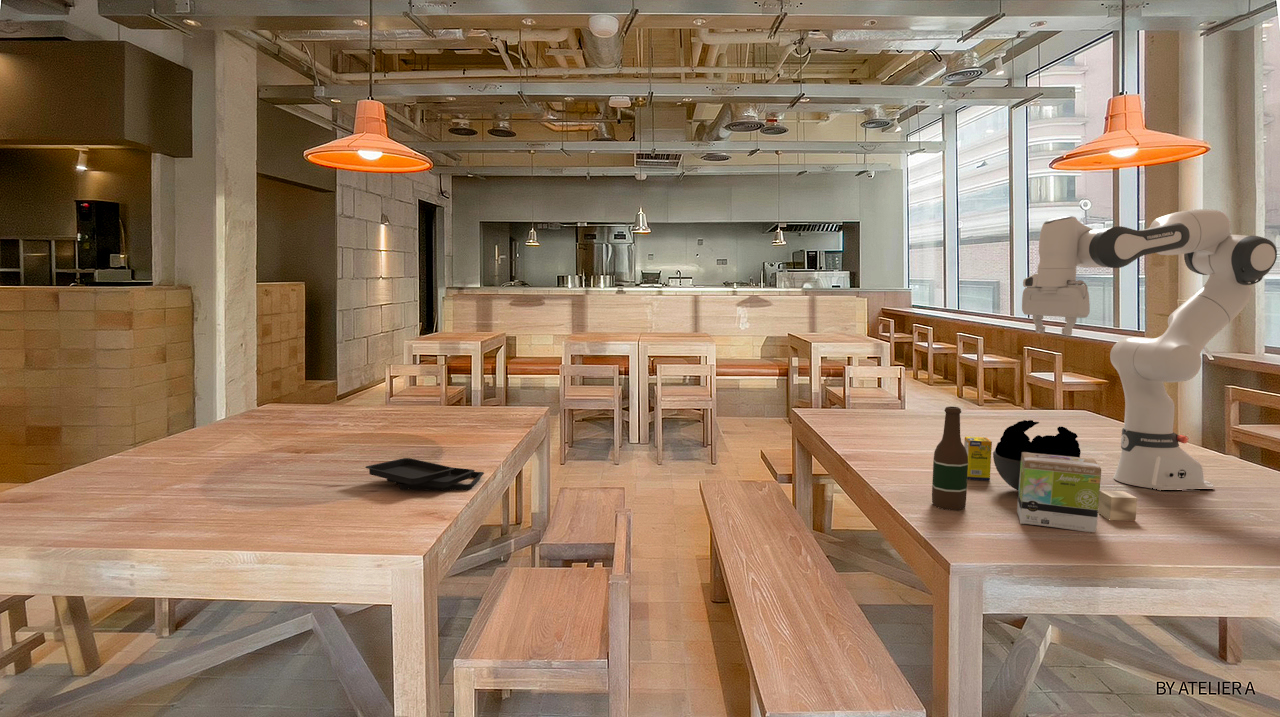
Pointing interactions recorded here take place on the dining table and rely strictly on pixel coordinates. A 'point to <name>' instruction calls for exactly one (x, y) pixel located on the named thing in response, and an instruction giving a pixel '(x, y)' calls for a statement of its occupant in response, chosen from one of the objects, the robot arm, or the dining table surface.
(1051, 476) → the tea box
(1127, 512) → the oak block
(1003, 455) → the coal bowl
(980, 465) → the supplement box
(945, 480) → the beer bottle
